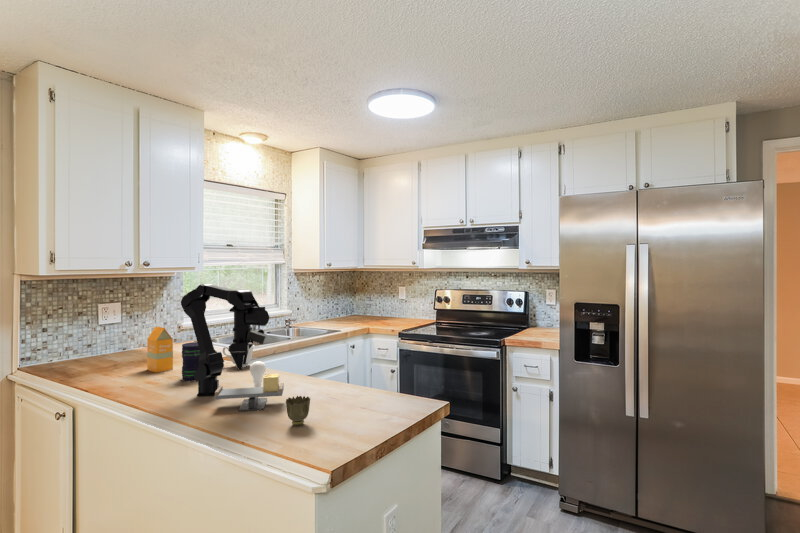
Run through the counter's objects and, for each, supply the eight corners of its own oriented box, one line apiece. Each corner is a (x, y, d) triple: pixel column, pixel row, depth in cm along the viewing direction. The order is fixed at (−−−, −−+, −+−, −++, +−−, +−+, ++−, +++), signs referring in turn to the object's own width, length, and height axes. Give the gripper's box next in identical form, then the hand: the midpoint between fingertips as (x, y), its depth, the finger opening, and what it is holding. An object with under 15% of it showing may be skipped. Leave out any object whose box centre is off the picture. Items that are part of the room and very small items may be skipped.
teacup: (226, 363, 219) (226, 343, 219) (257, 363, 221) (257, 343, 221) (218, 369, 207) (219, 348, 207) (251, 369, 209) (251, 347, 209)
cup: (287, 420, 140) (287, 395, 140) (311, 420, 141) (311, 395, 141) (283, 429, 133) (283, 402, 133) (308, 428, 133) (308, 402, 133)
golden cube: (263, 392, 154) (263, 377, 153) (264, 388, 158) (264, 374, 158) (278, 391, 154) (278, 377, 154) (279, 387, 159) (279, 373, 159)
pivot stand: (238, 411, 149) (238, 401, 149) (244, 400, 160) (244, 390, 160) (263, 410, 150) (263, 399, 150) (267, 399, 162) (267, 389, 162)
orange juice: (163, 366, 213) (163, 325, 213) (173, 369, 208) (173, 327, 208) (146, 369, 207) (146, 327, 207) (156, 372, 202) (156, 328, 202)
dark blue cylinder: (176, 380, 189) (176, 345, 189) (194, 374, 198) (194, 341, 198) (193, 382, 185) (193, 346, 185) (211, 376, 194) (211, 343, 194)
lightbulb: (268, 387, 178) (269, 360, 178) (259, 391, 172) (259, 363, 172) (256, 386, 180) (256, 359, 180) (246, 390, 174) (246, 362, 174)
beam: (214, 399, 149) (214, 392, 149) (219, 392, 157) (219, 385, 157) (282, 395, 153) (282, 388, 153) (283, 389, 161) (283, 382, 161)
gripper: (262, 327, 154) (262, 371, 155) (267, 320, 173) (267, 360, 173) (228, 328, 152) (228, 373, 152) (237, 321, 171) (237, 361, 171)
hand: (242, 366), depth 162 cm, fingers open, 9 cm apart
